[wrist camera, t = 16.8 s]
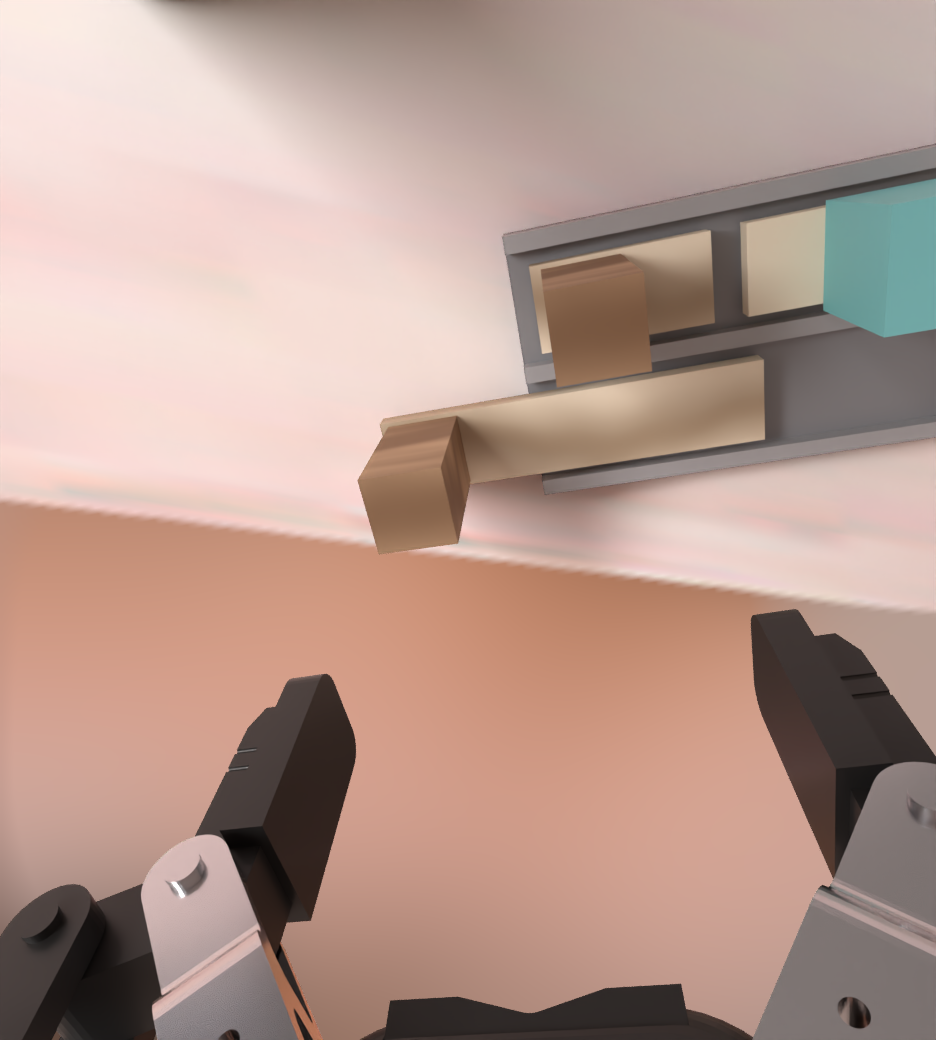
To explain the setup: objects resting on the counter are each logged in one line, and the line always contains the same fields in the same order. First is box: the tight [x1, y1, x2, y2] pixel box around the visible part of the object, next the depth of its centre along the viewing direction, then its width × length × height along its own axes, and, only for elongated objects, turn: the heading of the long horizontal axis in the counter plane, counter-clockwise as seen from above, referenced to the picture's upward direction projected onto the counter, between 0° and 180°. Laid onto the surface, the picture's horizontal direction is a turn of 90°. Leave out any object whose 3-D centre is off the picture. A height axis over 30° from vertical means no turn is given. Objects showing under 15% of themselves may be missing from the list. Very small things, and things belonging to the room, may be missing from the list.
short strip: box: [529, 229, 715, 387], centre depth 29 cm, size 4×8×8 cm, turn 101°
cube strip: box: [358, 355, 765, 554], centre depth 32 cm, size 4×19×8 cm, turn 101°
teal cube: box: [823, 179, 936, 337], centre depth 27 cm, size 5×5×6 cm
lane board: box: [502, 144, 936, 495], centre depth 33 cm, size 13×21×2 cm, turn 101°
